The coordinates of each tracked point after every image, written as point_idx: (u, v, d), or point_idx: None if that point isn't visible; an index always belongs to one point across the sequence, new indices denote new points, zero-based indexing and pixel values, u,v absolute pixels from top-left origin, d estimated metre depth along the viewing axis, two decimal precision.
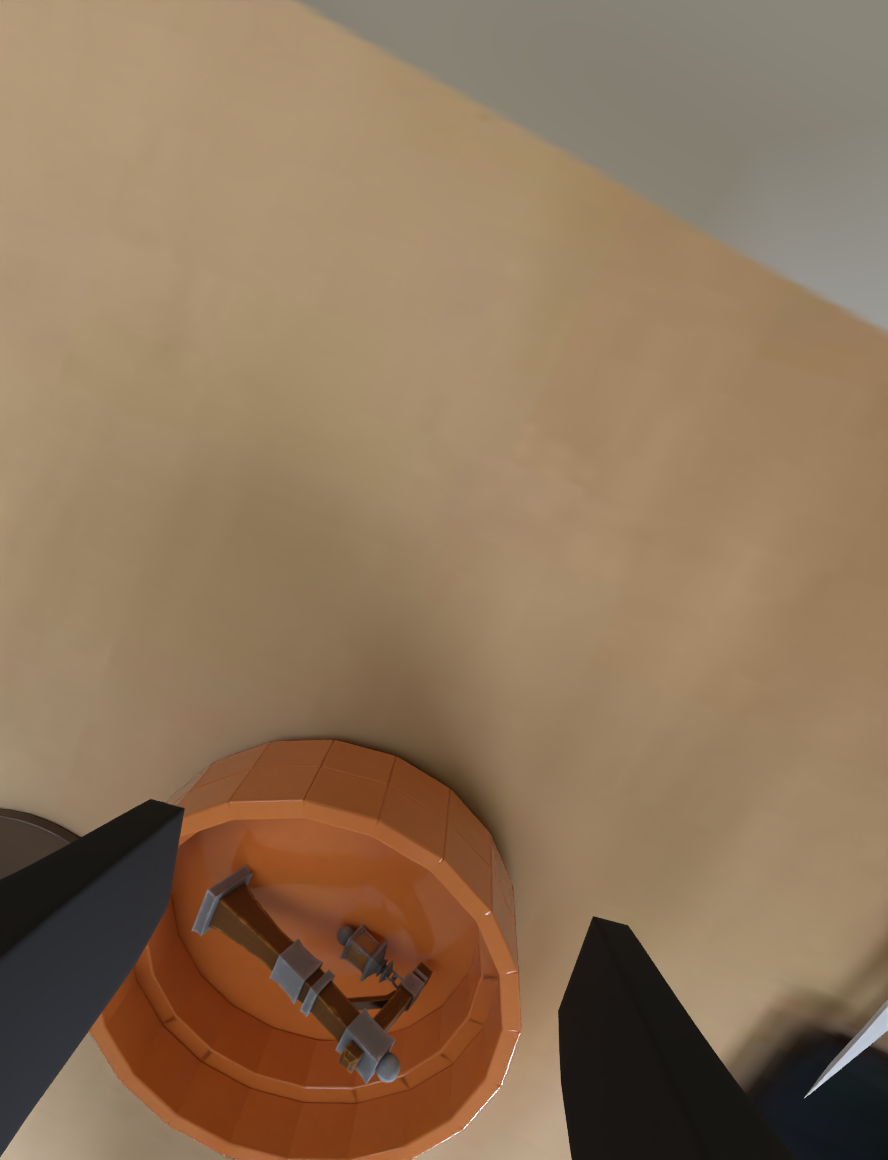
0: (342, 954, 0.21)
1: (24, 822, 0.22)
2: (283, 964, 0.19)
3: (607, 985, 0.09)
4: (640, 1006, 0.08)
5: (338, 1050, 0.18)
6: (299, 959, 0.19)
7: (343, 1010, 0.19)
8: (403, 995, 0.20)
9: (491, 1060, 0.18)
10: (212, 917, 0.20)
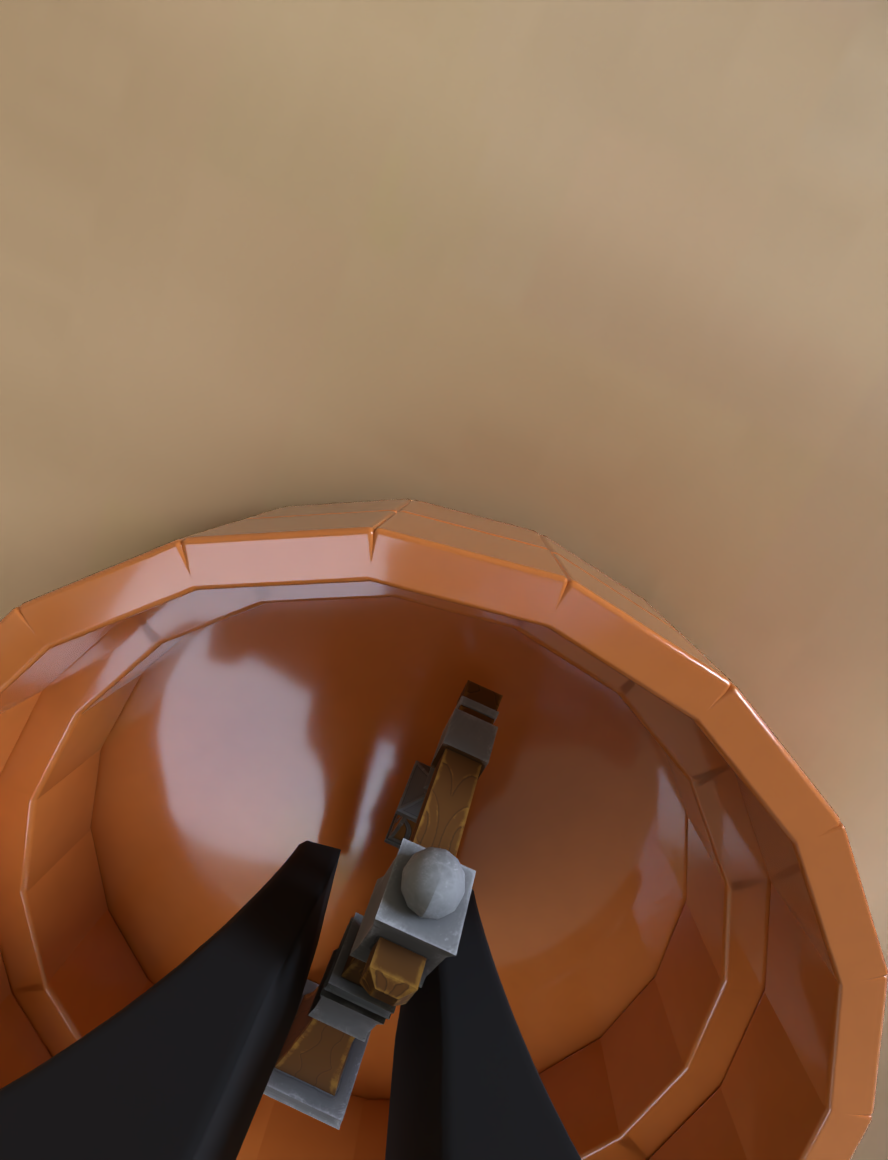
0: None
1: None
2: (322, 1013, 0.09)
3: None
4: None
5: (424, 978, 0.07)
6: (328, 974, 0.09)
7: None
8: (436, 767, 0.09)
9: (479, 608, 0.07)
10: (314, 1086, 0.11)
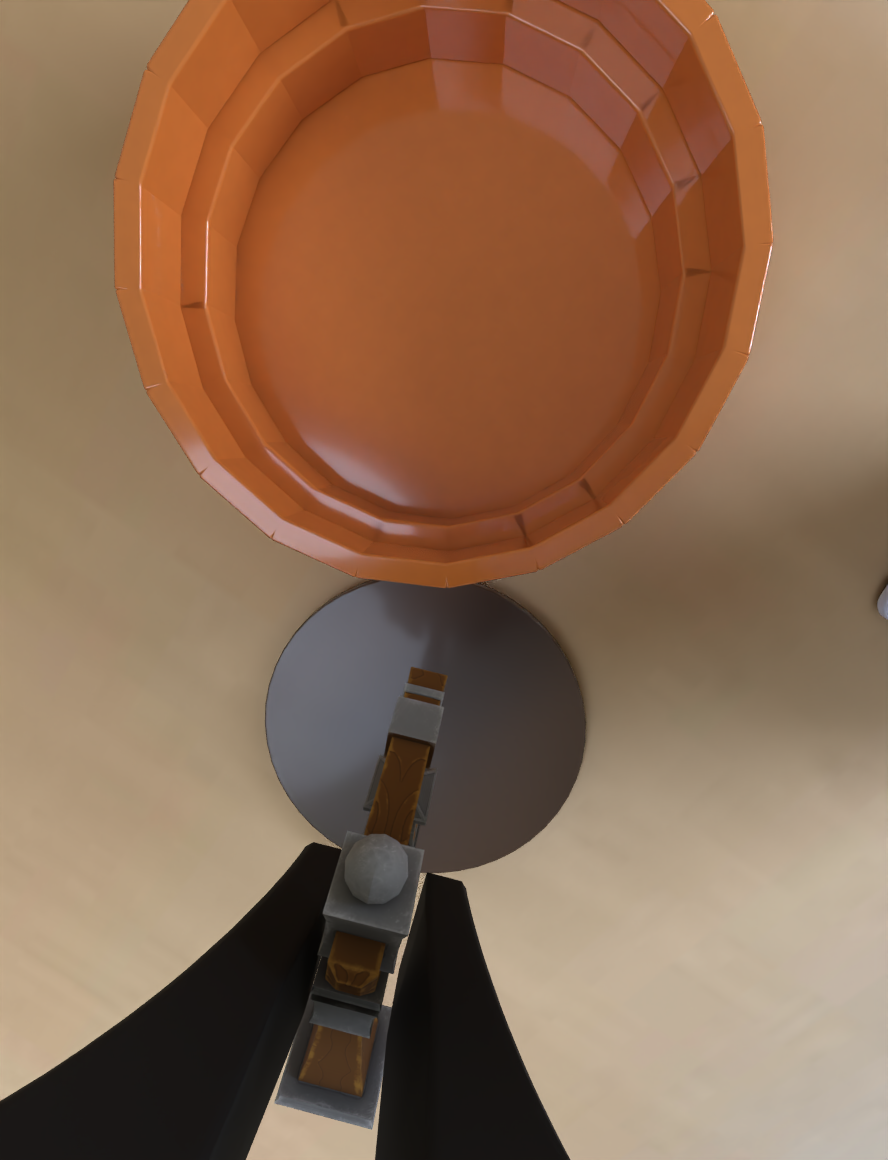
0: None
1: (280, 662, 0.19)
2: (321, 1018, 0.09)
3: (419, 935, 0.09)
4: (433, 951, 0.08)
5: (394, 963, 0.07)
6: None
7: None
8: (386, 757, 0.09)
9: None
10: (340, 1091, 0.11)
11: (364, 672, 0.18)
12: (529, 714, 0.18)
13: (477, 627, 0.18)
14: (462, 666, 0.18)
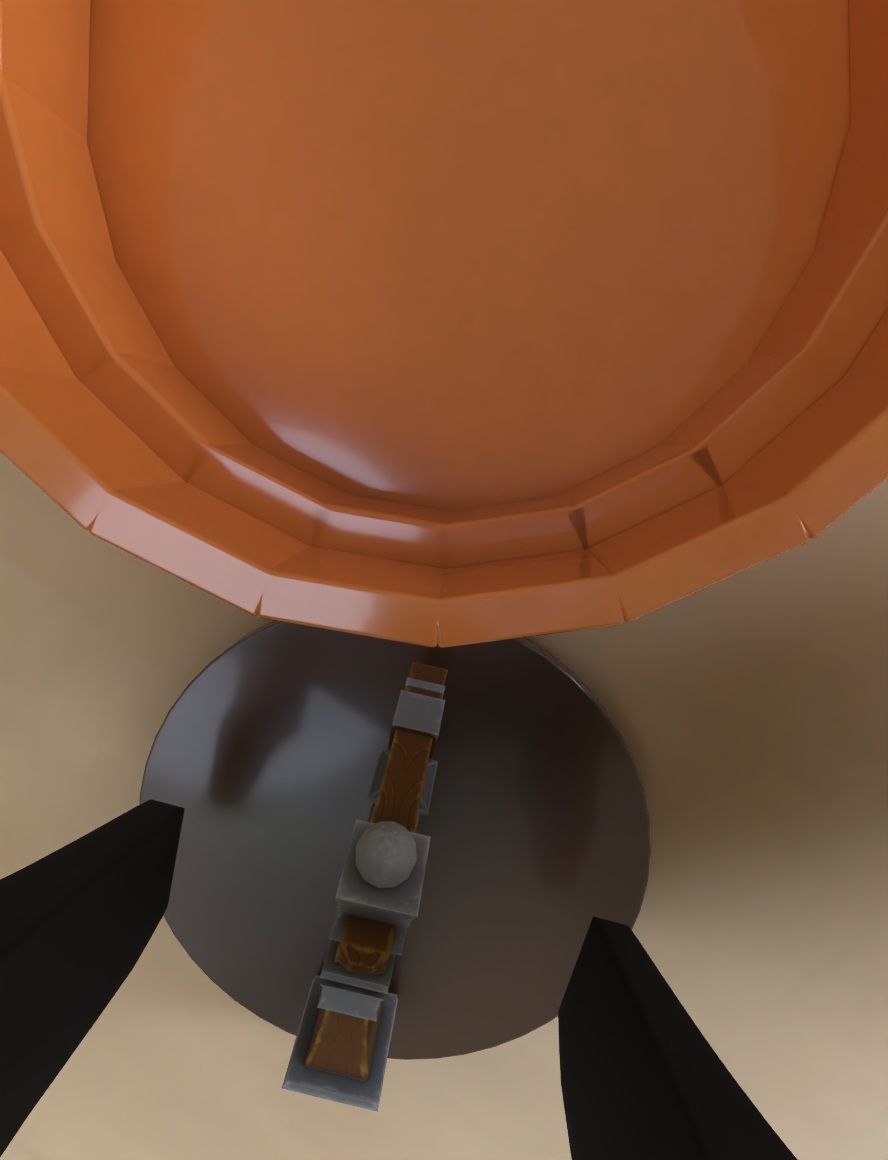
0: None
1: (164, 731, 0.12)
2: (329, 1002, 0.09)
3: (607, 985, 0.09)
4: (640, 1006, 0.08)
5: (402, 946, 0.08)
6: None
7: None
8: None
9: None
10: (346, 1075, 0.11)
11: (298, 753, 0.11)
12: (561, 833, 0.11)
13: (485, 692, 0.11)
14: (457, 753, 0.11)
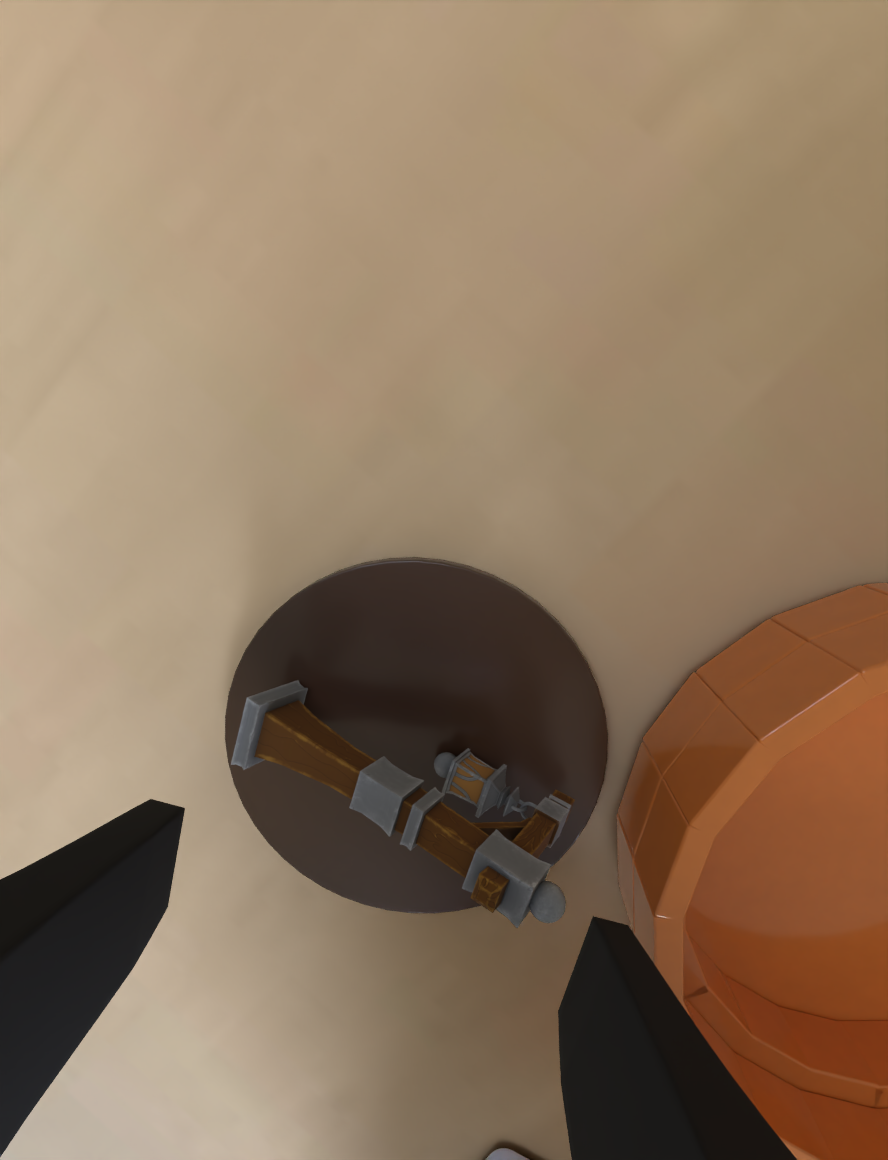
0: (445, 786, 0.15)
1: (521, 597, 0.15)
2: (368, 783, 0.13)
3: (607, 985, 0.09)
4: (640, 1006, 0.08)
5: (467, 888, 0.12)
6: (389, 776, 0.13)
7: (465, 832, 0.12)
8: (544, 821, 0.14)
9: None
10: (258, 742, 0.14)
11: (497, 696, 0.15)
12: (425, 861, 0.16)
13: None
14: None
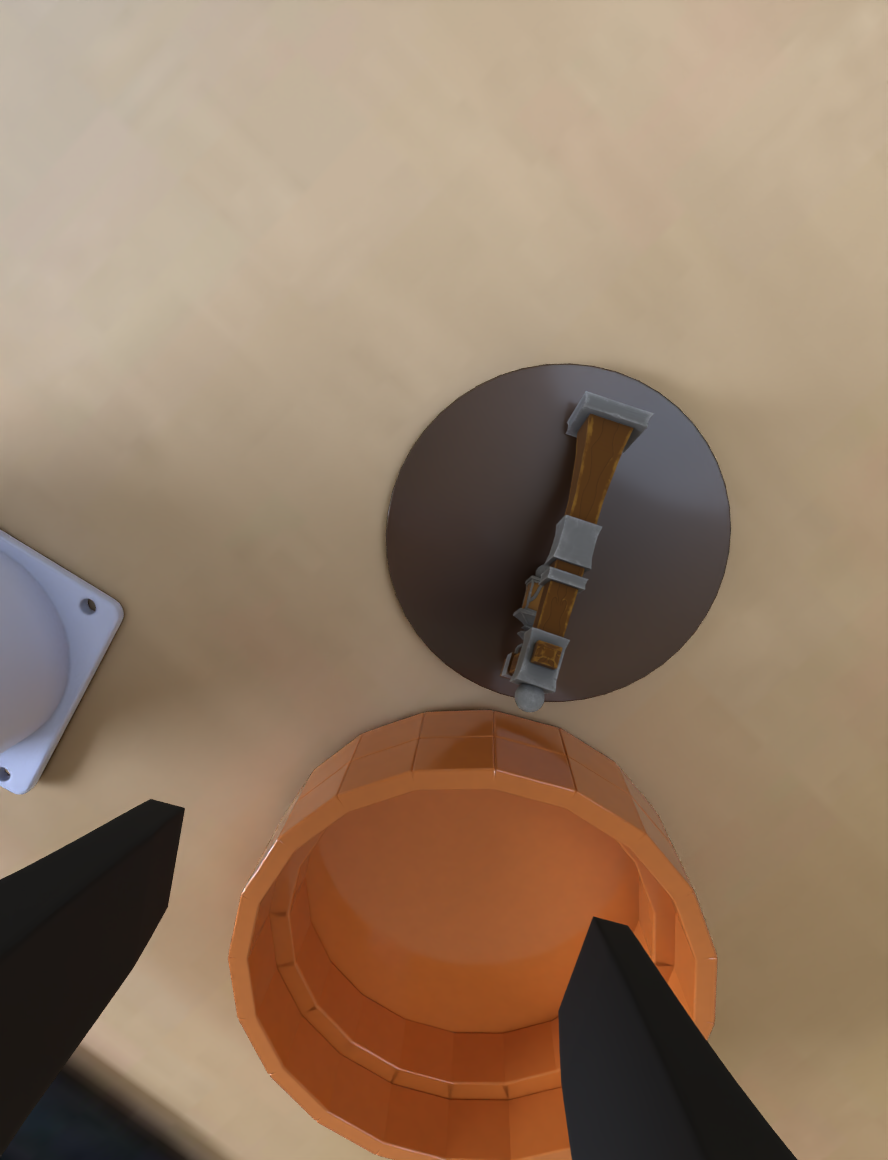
0: (538, 579, 0.17)
1: (687, 636, 0.18)
2: (592, 533, 0.15)
3: (607, 985, 0.09)
4: (640, 1006, 0.08)
5: (531, 631, 0.14)
6: None
7: None
8: None
9: (349, 1123, 0.18)
10: (604, 418, 0.15)
11: (601, 616, 0.18)
12: (441, 550, 0.18)
13: (480, 645, 0.19)
14: (501, 609, 0.18)
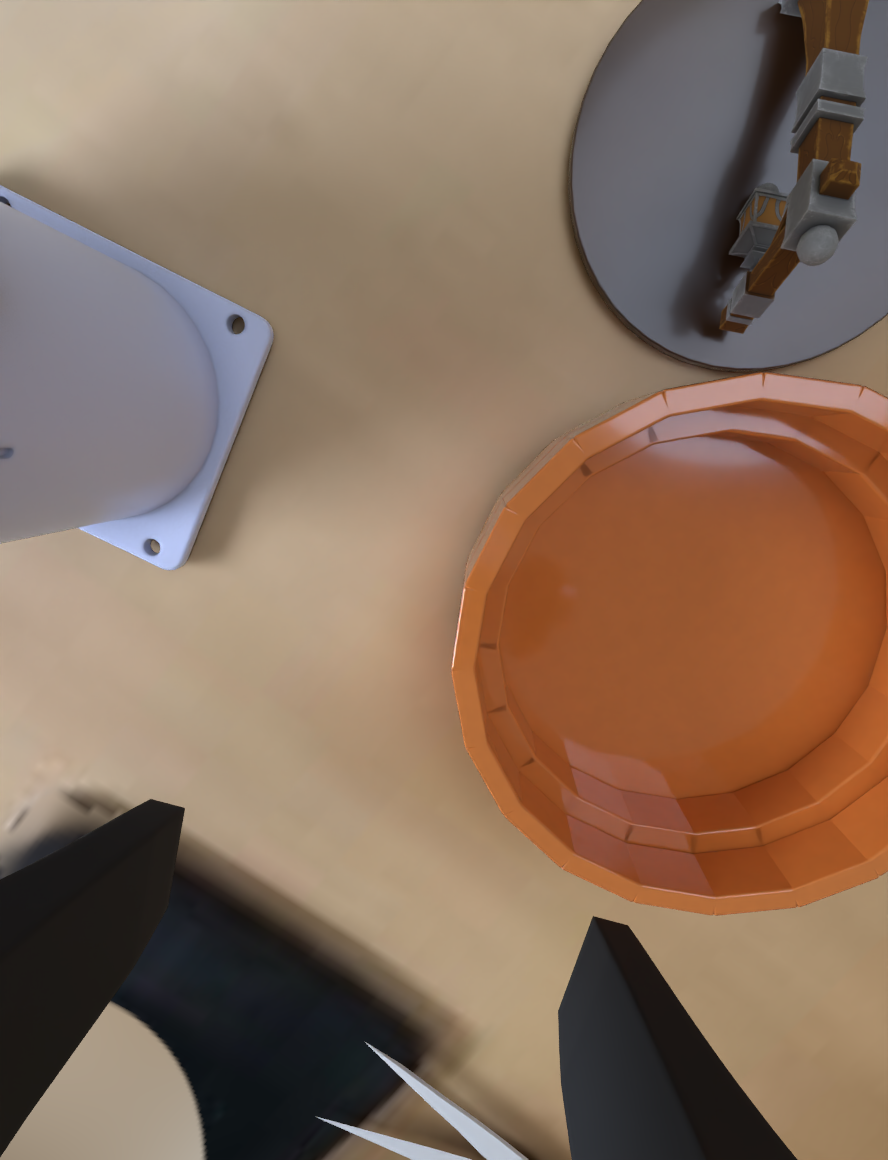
0: (763, 191, 0.15)
1: None
2: (858, 65, 0.13)
3: (607, 985, 0.09)
4: (640, 1006, 0.08)
5: (811, 166, 0.12)
6: None
7: None
8: None
9: (599, 865, 0.16)
10: None
11: None
12: (636, 193, 0.16)
13: (686, 307, 0.16)
14: (709, 257, 0.16)
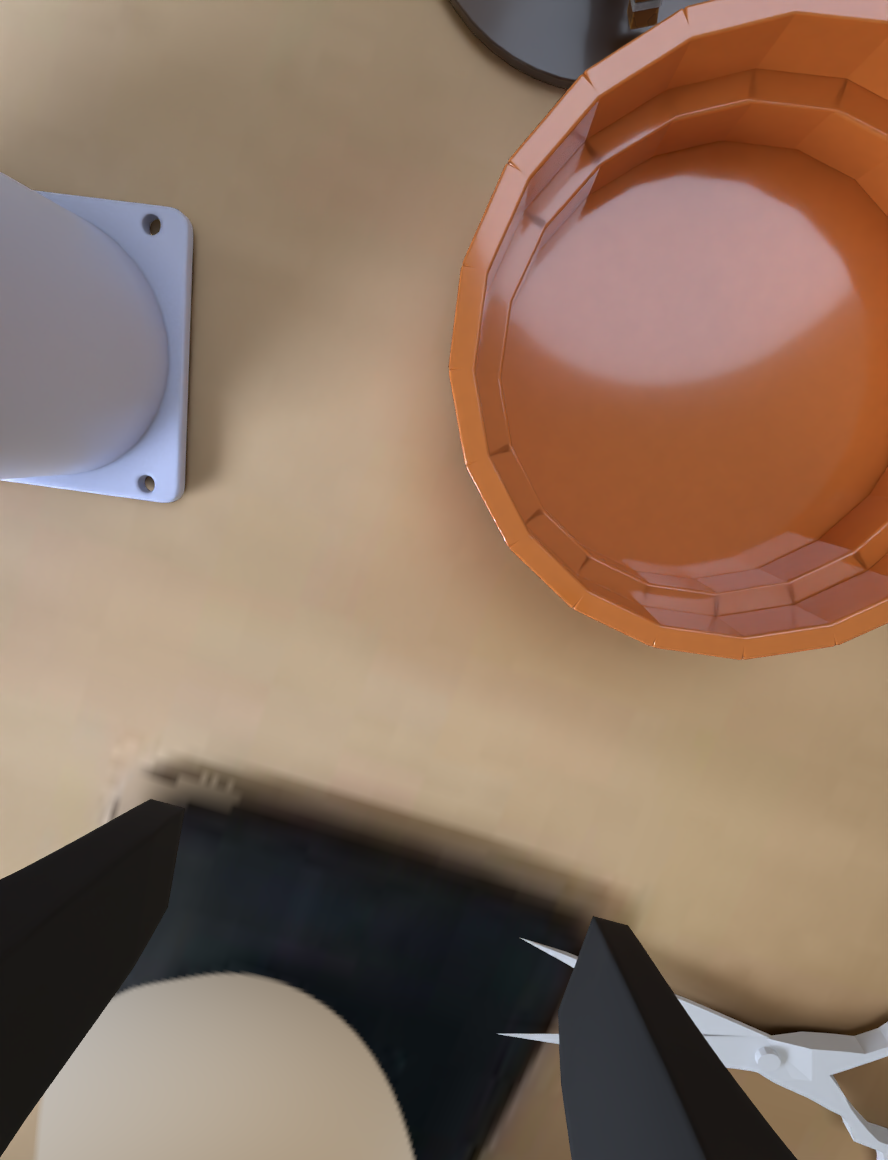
0: None
1: None
2: None
3: (607, 985, 0.09)
4: (640, 1006, 0.08)
5: None
6: None
7: None
8: None
9: (692, 630, 0.14)
10: None
11: None
12: None
13: (590, 28, 0.15)
14: None
